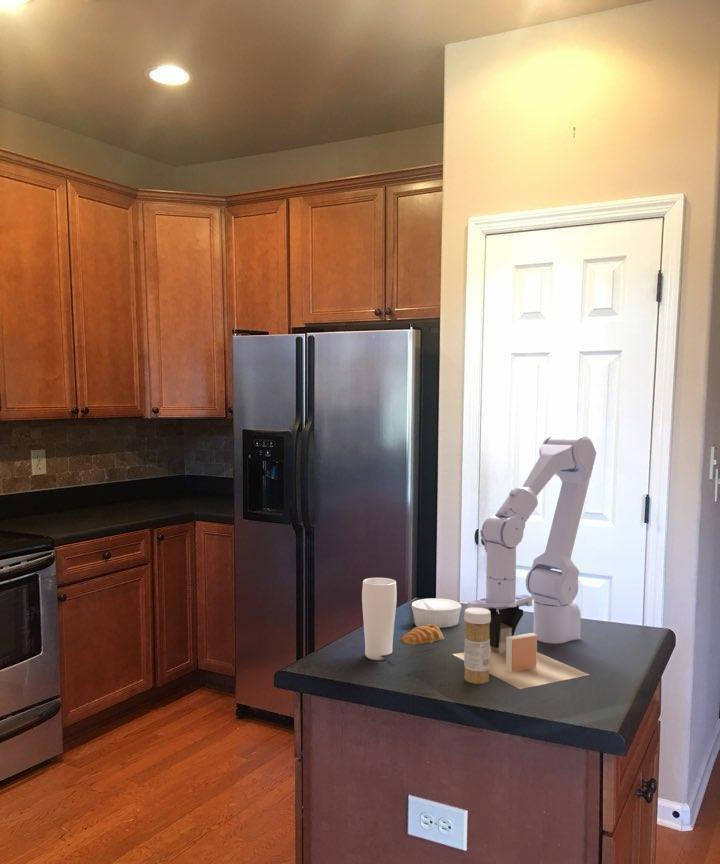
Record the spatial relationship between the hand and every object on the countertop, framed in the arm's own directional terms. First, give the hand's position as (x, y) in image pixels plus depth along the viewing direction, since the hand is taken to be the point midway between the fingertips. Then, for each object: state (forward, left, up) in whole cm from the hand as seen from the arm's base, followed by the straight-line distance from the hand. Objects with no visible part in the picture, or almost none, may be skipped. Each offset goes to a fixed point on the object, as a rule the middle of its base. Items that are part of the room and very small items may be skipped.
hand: (500, 645), depth 141 cm
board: (+2, +8, -2) cm, 9 cm away
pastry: (+10, -13, -3) cm, 17 cm away
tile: (+3, +10, -1) cm, 10 cm away
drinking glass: (+22, -10, -2) cm, 24 cm away
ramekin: (0, -23, -2) cm, 23 cm away
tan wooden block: (0, 0, -1) cm, 1 cm away
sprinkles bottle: (+14, +11, -2) cm, 18 cm away
